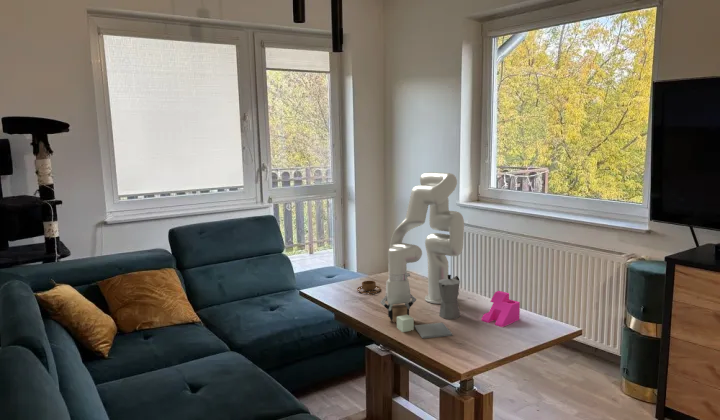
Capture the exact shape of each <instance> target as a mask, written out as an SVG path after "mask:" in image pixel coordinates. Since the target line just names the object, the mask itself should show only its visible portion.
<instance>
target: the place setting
mask: <svg viewBox="0 0 720 420" xmlns="http://www.w3.org/2000/svg"><path fill="white" fill-rule="evenodd" d="M361 287H362V290H364V291H362V290H358V289H359V288H361ZM376 287H377V288H379V289H378V290H375V289H377V288H376ZM356 289H357V292H358V291H359V292H361V293H360V294H362V293H369V294H368V295H371V294H370V293H375V294H377V293H376V292H378V293H380V292H381V289H382V288H381V286H380V285H379V286H378V285H377V282H376V281H375V280H363V281H362V282H361V286H359V287H357V288H356ZM372 290H373V291H372ZM366 291H371V292H366ZM379 291H380V292H379ZM359 292H358V293H359Z"/></svg>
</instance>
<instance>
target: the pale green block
mask: <svg viewBox="0 0 720 420" xmlns="http://www.w3.org/2000/svg"><path fill="white" fill-rule="evenodd" d="M414 319H415V318H414V317H413V316H411V315H410V314H409V315H402V316H397V322H396V329H397V328H398V329H397V330H399V331H400V332H401V333H406V332H407V333H408V332H411V330H412V331H414V329H415V328H414V325H415V323H414Z"/></svg>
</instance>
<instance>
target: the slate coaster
mask: <svg viewBox="0 0 720 420" xmlns="http://www.w3.org/2000/svg"><path fill="white" fill-rule="evenodd" d="M414 329H415V331H416V332H417V333H418V334H419V335H420V337H421V339H432V338H441V337H451V336H453V333H452V331H451V330H450V329H449V328H448V327H447V326H446V324H444V322H435V323H434V322H432V323H424V324H414Z"/></svg>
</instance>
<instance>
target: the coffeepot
mask: <svg viewBox="0 0 720 420" xmlns="http://www.w3.org/2000/svg"><path fill="white" fill-rule="evenodd" d="M447 276H448V279H442V280H439V288H440V294H441V297H442V300H441V304H440V308H439V315H438V316H439V317H441V319H442V318H443V319H445V320H454V319H458V318H460V316H461V312H460V305H459V301H458V296H459V295H458V292H459V291H460V284H461V283H460V282H461V280H460V278H459V276H458V275H456V276H453V277H452V275H451V274H448V275H447ZM459 293H460V292H459Z"/></svg>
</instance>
